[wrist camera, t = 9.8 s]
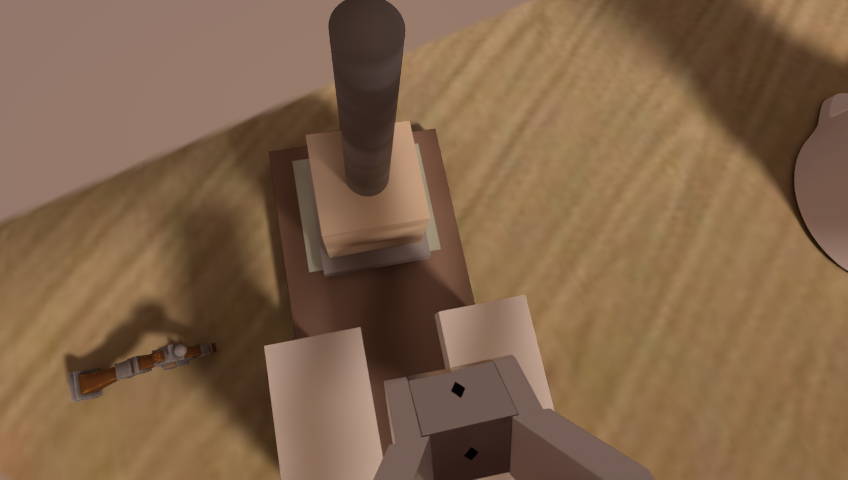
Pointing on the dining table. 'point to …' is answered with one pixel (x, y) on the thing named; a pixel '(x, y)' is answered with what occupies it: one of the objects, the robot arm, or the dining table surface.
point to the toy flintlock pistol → (133, 369)
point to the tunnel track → (375, 330)
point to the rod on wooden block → (367, 150)
